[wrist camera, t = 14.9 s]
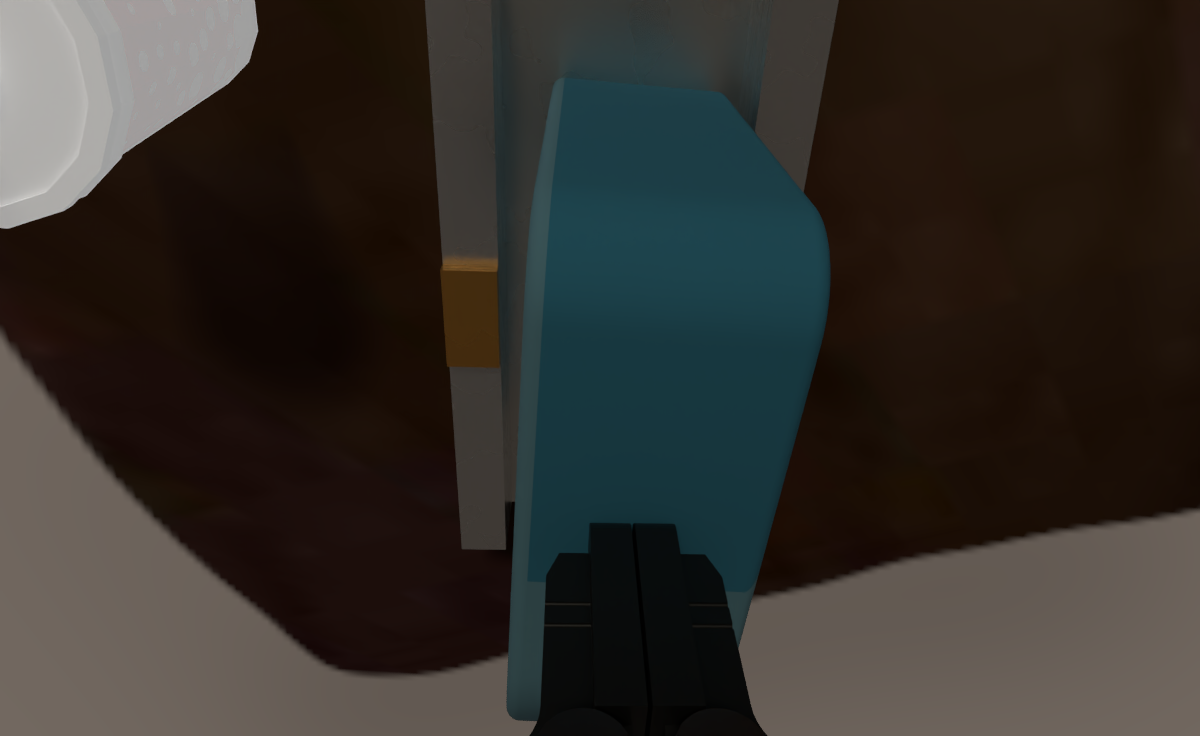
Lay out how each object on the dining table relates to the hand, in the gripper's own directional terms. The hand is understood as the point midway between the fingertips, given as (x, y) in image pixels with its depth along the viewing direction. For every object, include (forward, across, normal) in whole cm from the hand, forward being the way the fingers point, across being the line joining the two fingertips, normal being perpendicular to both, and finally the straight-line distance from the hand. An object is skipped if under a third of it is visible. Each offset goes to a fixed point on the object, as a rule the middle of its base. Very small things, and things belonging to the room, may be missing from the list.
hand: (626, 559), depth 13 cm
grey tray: (+13, 0, 0) cm, 13 cm away
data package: (+12, 0, 0) cm, 12 cm away
